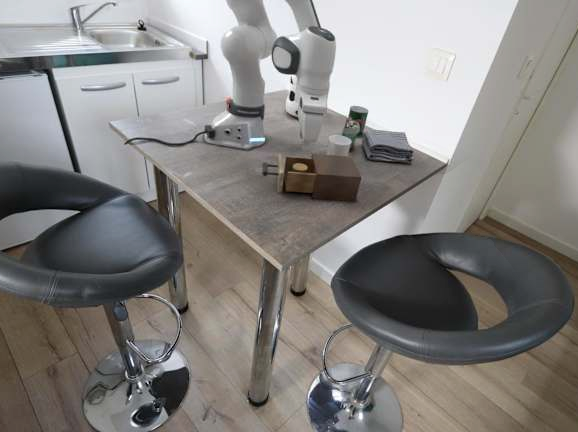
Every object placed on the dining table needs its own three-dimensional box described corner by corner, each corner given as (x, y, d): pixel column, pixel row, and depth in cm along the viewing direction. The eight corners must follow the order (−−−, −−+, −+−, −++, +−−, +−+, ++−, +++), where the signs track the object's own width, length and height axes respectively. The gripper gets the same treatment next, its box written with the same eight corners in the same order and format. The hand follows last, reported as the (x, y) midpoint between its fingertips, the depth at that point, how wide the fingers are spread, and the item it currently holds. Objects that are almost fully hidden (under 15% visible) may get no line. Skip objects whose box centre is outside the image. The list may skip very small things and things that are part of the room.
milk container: (321, 125, 157) (329, 84, 146) (283, 119, 156) (288, 78, 145) (321, 112, 171) (327, 73, 160) (285, 107, 170) (290, 68, 159)
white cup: (339, 173, 121) (345, 146, 116) (319, 165, 124) (324, 139, 118) (349, 165, 127) (355, 140, 121) (330, 158, 130) (335, 133, 124)
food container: (353, 156, 134) (359, 131, 129) (338, 152, 135) (343, 128, 129) (356, 144, 145) (362, 120, 139) (341, 140, 145) (346, 117, 139)
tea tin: (305, 184, 108) (308, 170, 105) (291, 183, 107) (293, 169, 104) (304, 177, 112) (306, 163, 109) (290, 176, 111) (292, 162, 108)
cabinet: (312, 198, 106) (317, 173, 101) (308, 176, 117) (311, 153, 112) (355, 201, 108) (361, 177, 103) (346, 179, 119) (352, 156, 114)
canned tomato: (362, 131, 157) (368, 107, 150) (362, 138, 150) (369, 113, 144) (344, 128, 157) (350, 104, 150) (344, 135, 150) (350, 110, 144)
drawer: (261, 191, 103) (263, 171, 99) (261, 171, 113) (263, 152, 109) (318, 195, 106) (322, 175, 102) (313, 175, 116) (316, 157, 112)
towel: (359, 144, 145) (363, 126, 140) (401, 148, 147) (407, 131, 143) (367, 161, 132) (372, 142, 128) (412, 165, 135) (419, 147, 130)
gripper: (296, 83, 102) (290, 127, 110) (303, 107, 86) (295, 157, 94) (317, 85, 103) (310, 130, 111) (328, 110, 87) (318, 159, 95)
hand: (303, 143), depth 102 cm, fingers open, 6 cm apart
